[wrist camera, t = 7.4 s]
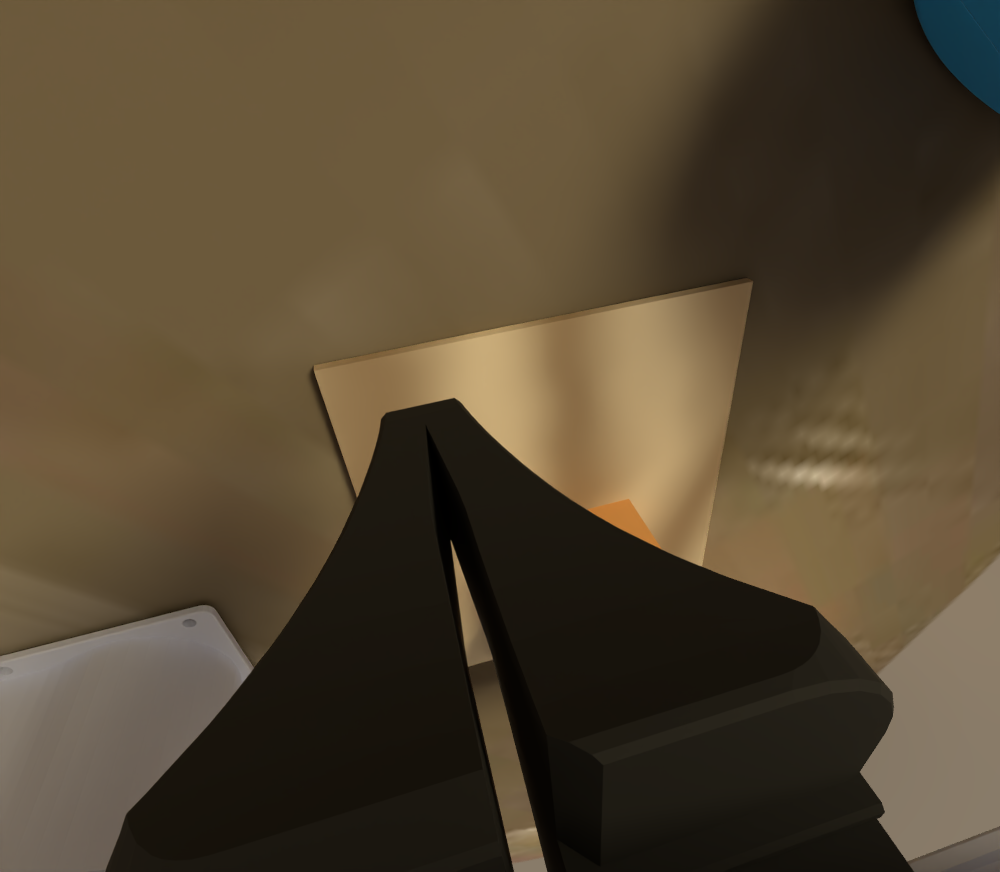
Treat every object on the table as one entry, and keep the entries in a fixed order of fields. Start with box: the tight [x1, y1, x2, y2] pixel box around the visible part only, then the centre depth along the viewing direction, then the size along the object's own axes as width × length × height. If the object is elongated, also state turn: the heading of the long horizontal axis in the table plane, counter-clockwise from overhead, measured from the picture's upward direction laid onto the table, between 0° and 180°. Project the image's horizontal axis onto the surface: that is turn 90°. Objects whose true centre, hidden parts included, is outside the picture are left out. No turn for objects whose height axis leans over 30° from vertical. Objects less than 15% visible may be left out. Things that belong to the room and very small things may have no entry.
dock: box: [314, 278, 753, 707], centre depth 23 cm, size 16×19×5 cm
